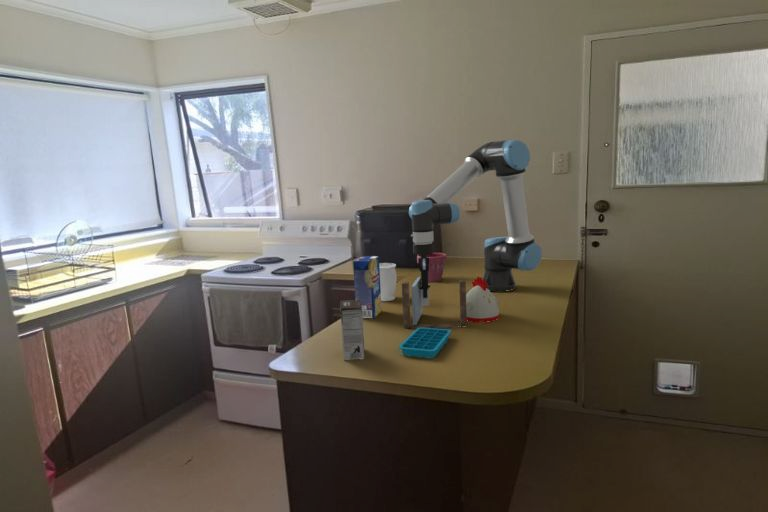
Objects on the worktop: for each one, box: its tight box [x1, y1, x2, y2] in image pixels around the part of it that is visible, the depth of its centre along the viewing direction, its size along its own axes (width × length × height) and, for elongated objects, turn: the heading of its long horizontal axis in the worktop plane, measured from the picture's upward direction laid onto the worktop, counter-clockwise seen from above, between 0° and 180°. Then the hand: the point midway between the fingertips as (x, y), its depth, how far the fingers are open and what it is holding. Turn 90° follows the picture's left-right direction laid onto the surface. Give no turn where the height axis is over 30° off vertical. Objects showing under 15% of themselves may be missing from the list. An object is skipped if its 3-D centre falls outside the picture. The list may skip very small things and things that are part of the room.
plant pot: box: [416, 252, 447, 283], centre depth 249 cm, size 14×14×13 cm
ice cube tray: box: [398, 327, 452, 359], centre depth 158 cm, size 12×20×3 cm, turn 158°
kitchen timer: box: [466, 276, 500, 323], centre depth 185 cm, size 14×14×15 cm
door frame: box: [401, 279, 468, 330], centre depth 176 cm, size 22×4×16 cm, turn 86°
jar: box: [379, 262, 398, 302], centre depth 217 cm, size 11×10×15 cm
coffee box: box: [339, 299, 365, 361], centre depth 153 cm, size 9×6×16 cm
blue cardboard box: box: [352, 255, 383, 319], centre depth 194 cm, size 7×11×22 cm, turn 164°
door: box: [410, 276, 423, 325], centre depth 185 cm, size 15×3×14 cm, turn 168°
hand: (425, 305), depth 189 cm, fingers closed
